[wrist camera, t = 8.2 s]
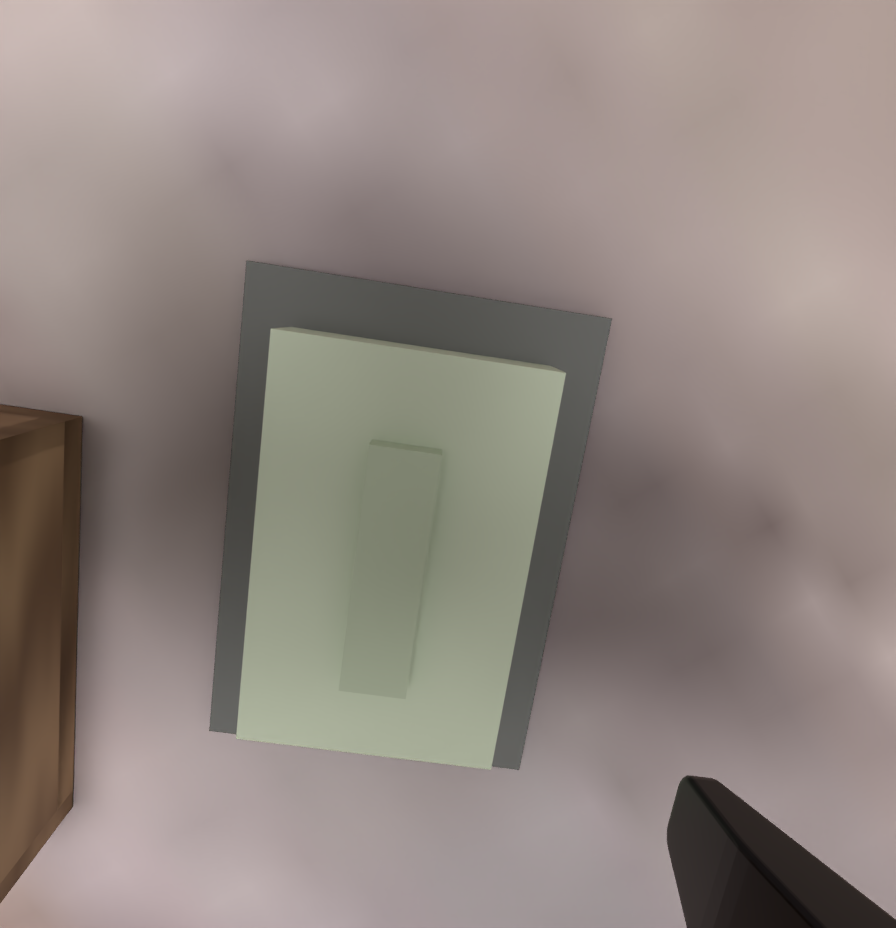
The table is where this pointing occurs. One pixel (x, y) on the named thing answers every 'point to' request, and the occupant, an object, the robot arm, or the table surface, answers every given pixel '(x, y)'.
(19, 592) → the walnut box
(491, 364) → the lid
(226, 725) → the slate mat
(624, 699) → the table surface
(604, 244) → the table surface
